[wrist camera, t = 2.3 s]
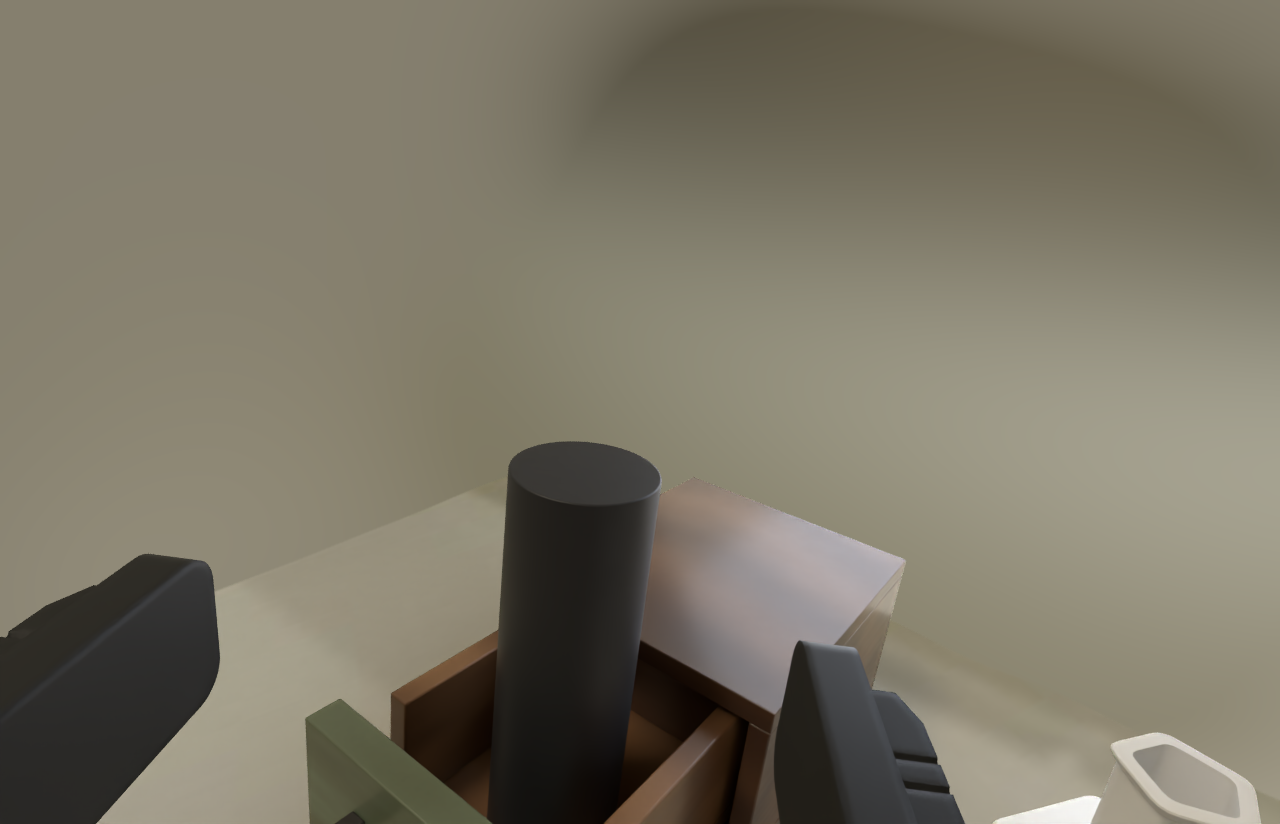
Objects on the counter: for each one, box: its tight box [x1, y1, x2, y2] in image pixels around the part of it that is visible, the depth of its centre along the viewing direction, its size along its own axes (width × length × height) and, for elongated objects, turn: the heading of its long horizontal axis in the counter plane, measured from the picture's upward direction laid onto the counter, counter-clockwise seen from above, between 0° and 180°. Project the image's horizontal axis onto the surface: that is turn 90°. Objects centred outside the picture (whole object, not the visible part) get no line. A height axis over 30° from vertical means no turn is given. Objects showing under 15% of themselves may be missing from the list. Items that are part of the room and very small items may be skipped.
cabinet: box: [638, 477, 906, 824], centre depth 33 cm, size 14×12×8 cm
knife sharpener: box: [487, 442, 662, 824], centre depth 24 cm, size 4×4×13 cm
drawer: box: [305, 630, 750, 824], centre depth 24 cm, size 17×10×6 cm, turn 144°
